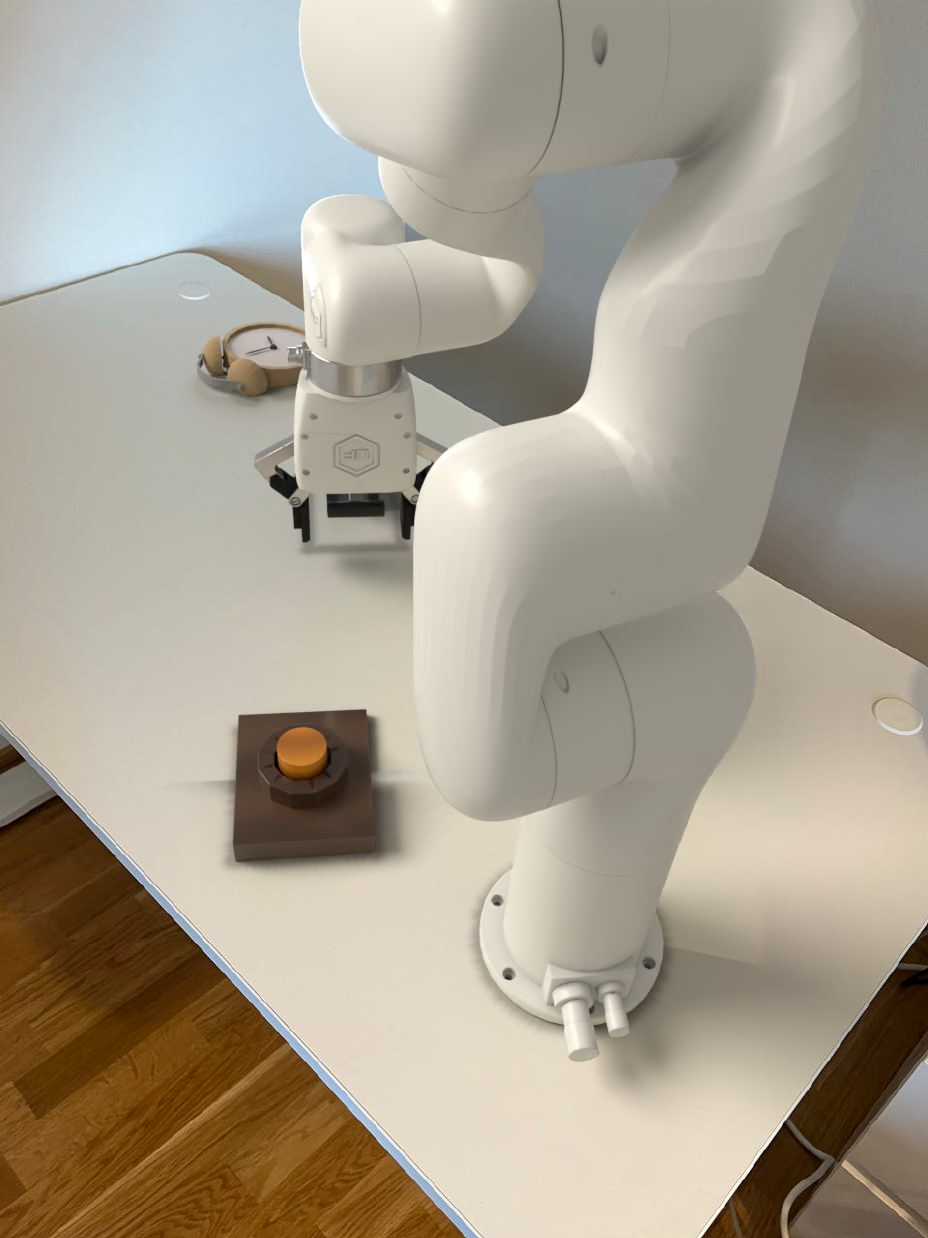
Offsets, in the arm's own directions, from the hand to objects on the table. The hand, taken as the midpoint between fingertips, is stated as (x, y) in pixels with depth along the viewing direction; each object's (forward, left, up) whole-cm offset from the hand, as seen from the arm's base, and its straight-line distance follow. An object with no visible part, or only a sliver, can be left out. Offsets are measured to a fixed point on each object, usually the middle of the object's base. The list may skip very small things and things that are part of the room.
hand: (355, 530), depth 96 cm
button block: (-25, +5, -5) cm, 26 cm away
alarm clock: (+34, +9, -5) cm, 35 cm away
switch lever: (+5, 0, +3) cm, 6 cm away
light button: (-25, +5, -1) cm, 25 cm away
